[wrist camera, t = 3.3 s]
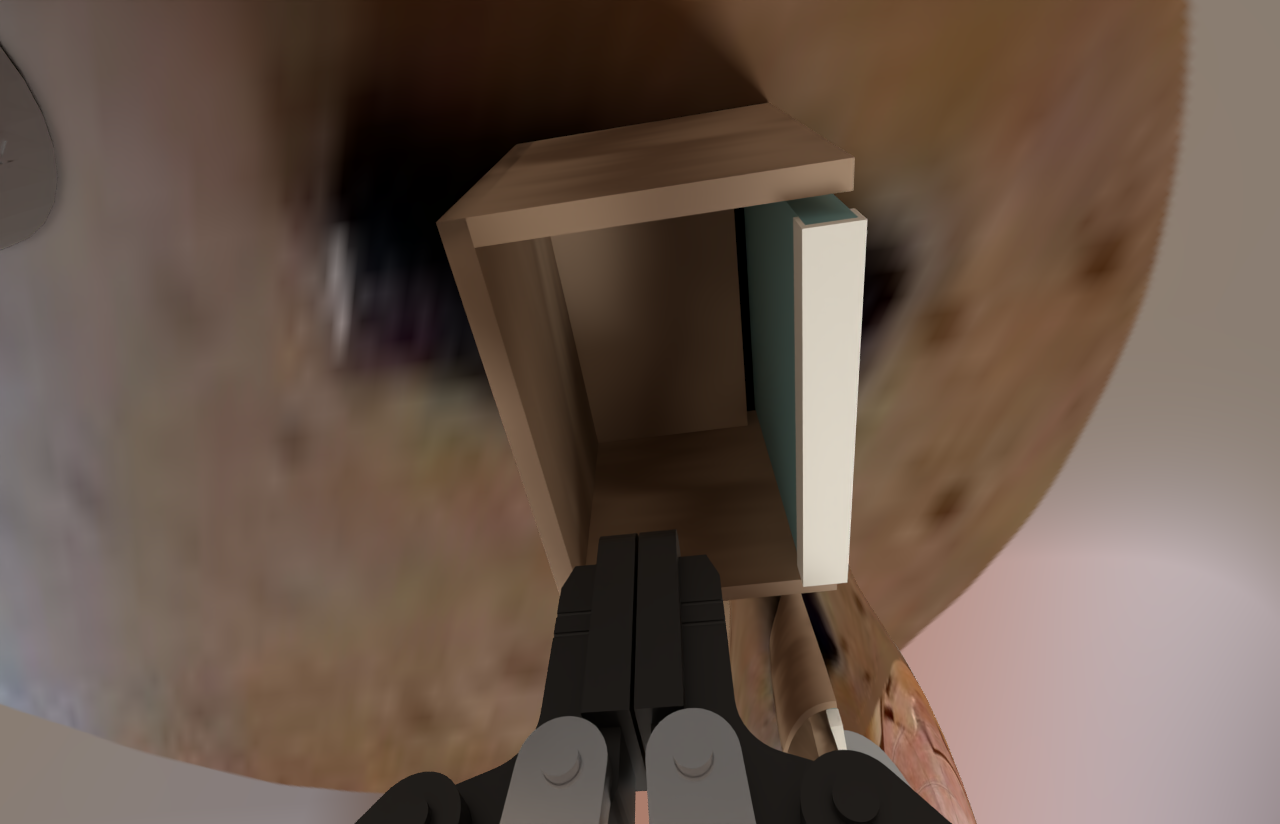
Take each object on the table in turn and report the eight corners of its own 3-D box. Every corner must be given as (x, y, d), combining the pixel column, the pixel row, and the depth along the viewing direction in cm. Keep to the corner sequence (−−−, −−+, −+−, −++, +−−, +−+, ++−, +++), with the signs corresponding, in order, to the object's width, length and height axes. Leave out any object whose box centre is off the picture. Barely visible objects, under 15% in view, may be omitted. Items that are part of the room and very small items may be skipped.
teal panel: (752, 407, 24) (803, 587, 17) (737, 144, 19) (801, 228, 11) (782, 404, 24) (847, 582, 17) (775, 138, 19) (867, 219, 11)
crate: (588, 442, 26) (566, 615, 18) (516, 144, 19) (435, 222, 12) (778, 419, 25) (836, 589, 18) (769, 102, 19) (854, 157, 11)
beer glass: (762, 447, 26) (875, 846, 13) (880, 511, 28) (1075, 911, 15) (673, 545, 29) (696, 941, 17) (785, 596, 31) (881, 984, 19)
